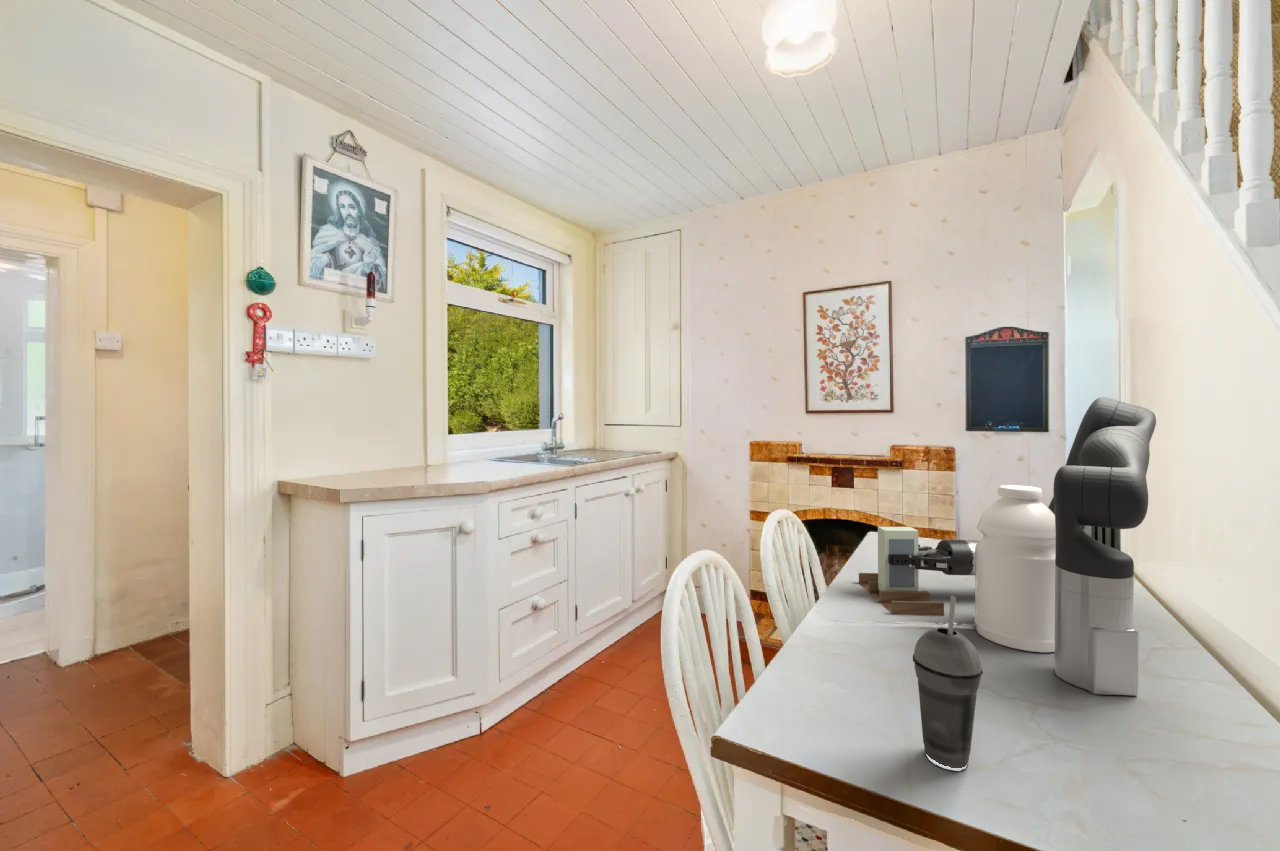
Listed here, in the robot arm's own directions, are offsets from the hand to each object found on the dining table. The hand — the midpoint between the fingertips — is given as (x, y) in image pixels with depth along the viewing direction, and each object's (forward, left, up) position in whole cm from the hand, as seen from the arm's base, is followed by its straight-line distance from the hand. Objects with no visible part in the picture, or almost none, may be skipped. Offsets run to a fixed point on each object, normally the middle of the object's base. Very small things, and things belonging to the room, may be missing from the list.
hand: (885, 556), depth 116 cm
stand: (0, -3, -10) cm, 11 cm away
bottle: (-17, -18, -10) cm, 27 cm away
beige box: (0, -3, -8) cm, 8 cm away
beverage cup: (-54, +13, -10) cm, 57 cm away
